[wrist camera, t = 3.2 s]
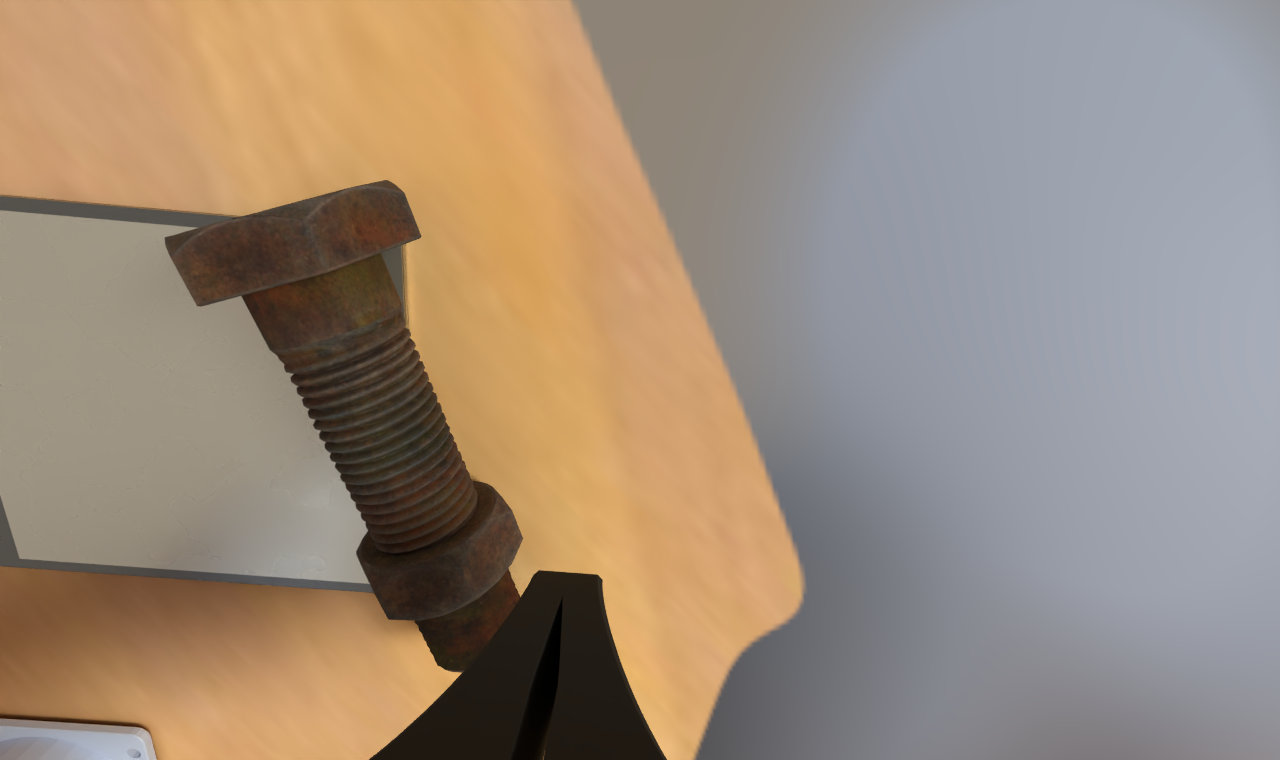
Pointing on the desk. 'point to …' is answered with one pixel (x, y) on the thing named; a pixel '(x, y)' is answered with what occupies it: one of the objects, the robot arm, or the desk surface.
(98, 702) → the desk surface
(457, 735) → the robot arm
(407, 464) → the bolt
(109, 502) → the flat rectangular plate
